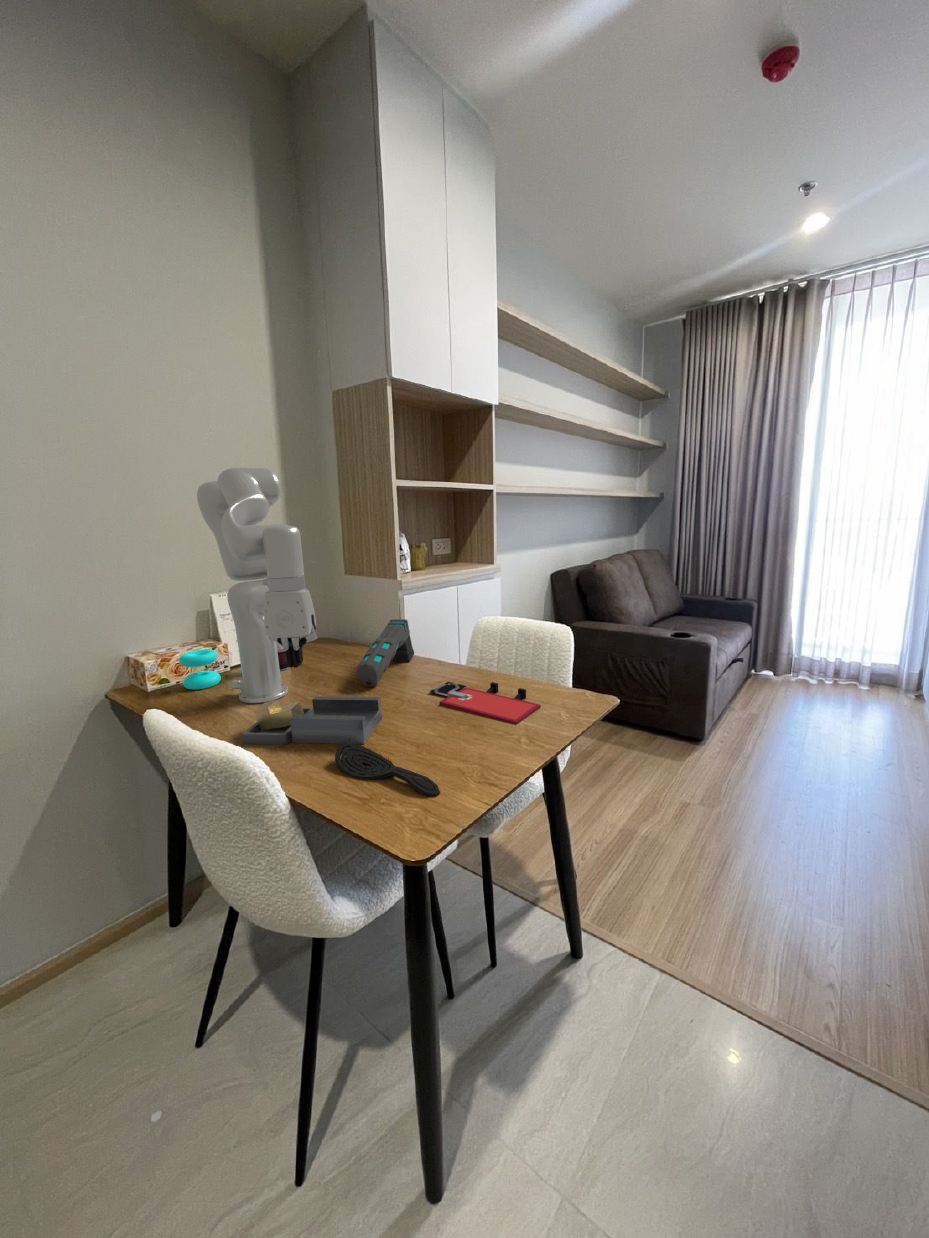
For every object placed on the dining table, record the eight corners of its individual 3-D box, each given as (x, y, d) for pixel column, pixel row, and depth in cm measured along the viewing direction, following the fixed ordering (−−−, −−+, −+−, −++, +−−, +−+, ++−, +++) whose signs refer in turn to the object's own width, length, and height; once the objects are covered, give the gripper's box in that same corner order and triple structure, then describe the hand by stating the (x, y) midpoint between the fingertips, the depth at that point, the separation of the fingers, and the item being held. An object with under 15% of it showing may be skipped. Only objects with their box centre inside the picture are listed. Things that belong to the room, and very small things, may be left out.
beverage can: (290, 664, 164) (284, 620, 161) (290, 669, 158) (285, 624, 155) (269, 667, 162) (263, 622, 159) (269, 672, 156) (263, 626, 153)
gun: (416, 652, 166) (408, 613, 159) (386, 709, 142) (375, 667, 134) (398, 652, 168) (389, 613, 161) (365, 708, 143) (353, 666, 136)
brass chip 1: (275, 727, 111) (261, 731, 111) (285, 718, 115) (271, 721, 116) (267, 707, 110) (253, 710, 110) (278, 699, 115) (264, 702, 115)
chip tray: (243, 743, 107) (241, 734, 106) (277, 715, 121) (276, 707, 121) (286, 744, 105) (285, 734, 105) (315, 716, 120) (314, 707, 119)
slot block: (292, 742, 106) (290, 718, 105) (318, 717, 119) (315, 696, 117) (364, 744, 104) (362, 719, 103) (382, 718, 116) (380, 696, 115)
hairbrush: (422, 794, 80) (324, 748, 94) (422, 813, 81) (325, 766, 95) (453, 772, 87) (357, 733, 101) (453, 790, 87) (357, 749, 102)
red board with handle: (452, 682, 140) (417, 700, 128) (452, 673, 139) (416, 690, 128) (547, 704, 122) (517, 727, 111) (547, 694, 122) (516, 716, 110)
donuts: (223, 650, 146) (189, 659, 138) (228, 682, 148) (194, 693, 140) (205, 646, 151) (171, 655, 143) (210, 677, 153) (177, 687, 145)
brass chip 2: (275, 728, 111) (270, 714, 110) (285, 719, 115) (280, 706, 115) (295, 723, 110) (290, 709, 109) (304, 715, 115) (300, 701, 114)
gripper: (244, 587, 103) (255, 670, 107) (312, 587, 101) (320, 671, 105) (263, 582, 110) (272, 660, 114) (327, 581, 108) (334, 661, 112)
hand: (295, 665), depth 110 cm, fingers closed
